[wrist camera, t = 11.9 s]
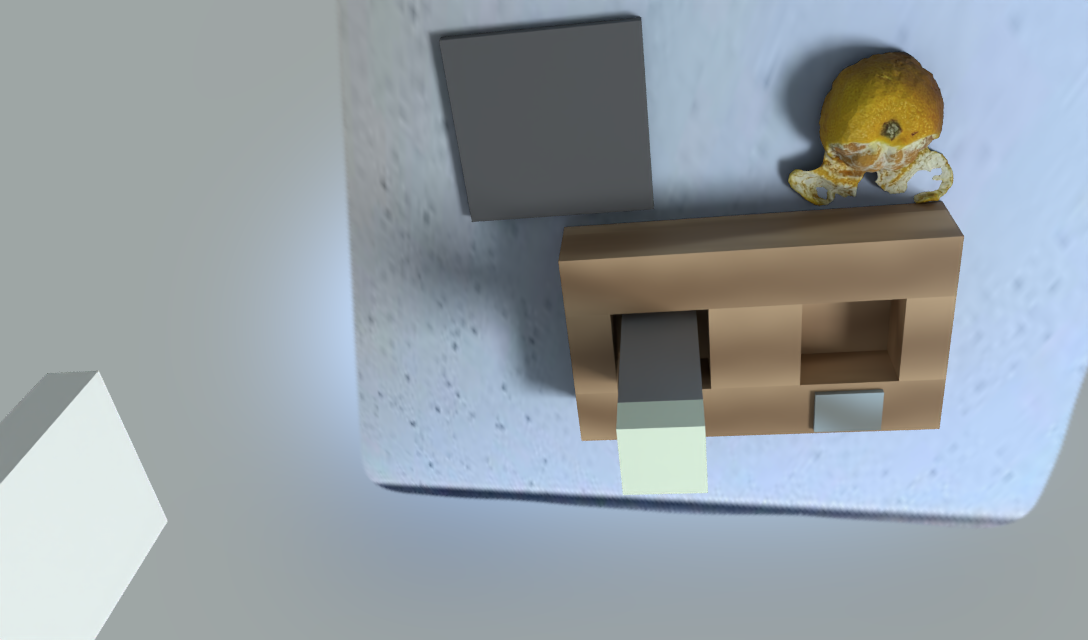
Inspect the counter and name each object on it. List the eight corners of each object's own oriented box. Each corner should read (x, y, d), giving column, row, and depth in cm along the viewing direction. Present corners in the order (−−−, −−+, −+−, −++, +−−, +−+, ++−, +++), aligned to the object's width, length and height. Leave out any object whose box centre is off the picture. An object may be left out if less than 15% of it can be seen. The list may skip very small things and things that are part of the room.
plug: (622, 295, 52) (616, 429, 42) (694, 291, 52) (705, 426, 41) (628, 353, 54) (623, 494, 44) (697, 350, 54) (707, 492, 44)
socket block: (564, 227, 51) (557, 264, 48) (942, 201, 48) (965, 239, 45) (585, 399, 58) (581, 444, 54) (921, 386, 55) (940, 432, 51)
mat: (441, 37, 46) (439, 40, 46) (641, 17, 45) (640, 20, 44) (473, 217, 52) (472, 221, 51) (653, 204, 50) (653, 209, 50)
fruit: (787, 207, 50) (796, 238, 47) (792, 53, 45) (802, 77, 42) (949, 198, 49) (969, 229, 46) (969, 39, 44) (993, 62, 41)
